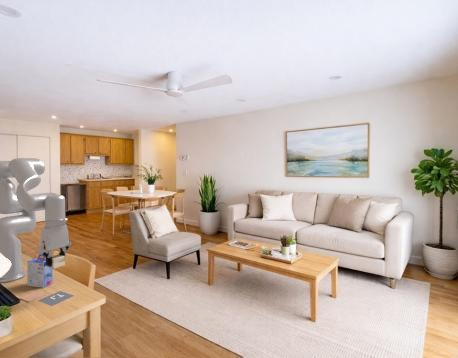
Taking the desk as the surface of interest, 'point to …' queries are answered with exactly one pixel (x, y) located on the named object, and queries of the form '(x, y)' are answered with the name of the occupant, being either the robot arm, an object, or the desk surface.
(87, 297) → the desk surface
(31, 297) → the terracotta tile
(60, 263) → the maple block
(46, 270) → the ink cartridge box
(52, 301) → the gray board
